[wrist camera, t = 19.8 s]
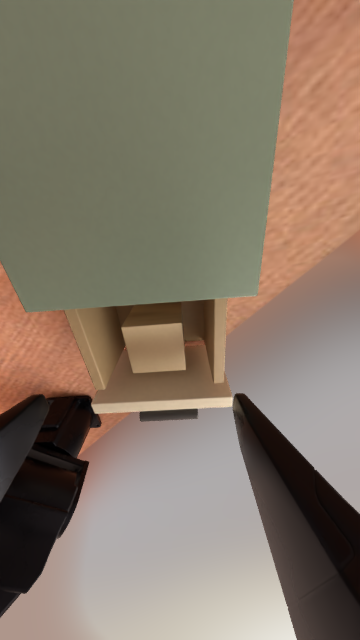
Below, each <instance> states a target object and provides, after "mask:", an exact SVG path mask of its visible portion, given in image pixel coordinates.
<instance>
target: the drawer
mask: <svg viewBox="0 0 360 640" xmlns="http://www.w3.org/2000/svg"><path fill="white" fill-rule="evenodd" d="M181 303H182V315H183V326H184V338H185V341H200V340H204V342H205V345H196V346H185V359H186V370H177V371H162V372H146V373H133V371H132V367H131V363H130V359H129V355H128V352H127V350H124V348H125V345H126V344H125V340H124V336H123V333H122V329H121V327H122V325H123V323H124V322H125V320H126V318H127V317H128V315H129V313H130V312H131V310H132V308H133V307H134V305H124V306H110V307H96V308H82V309H68V310H64V312H65V314H66V317H67V319H68V322H69V324H70V327H71V329H72V332H73V335H74V337H75V340H76V342H77V345H78V347H79V350H80V352H81V355H82V357H83V360H84V362H85V365H86V367H87V370H88V372H89V375H90V377H91V380H92V382H93V385H94V387H95V389H96V390H98V391H97V393H96V395H95V397H94V399H93V401H92V403H91V406H92V408H93V411H94V413H95V414H99V413H119V412H138V411H140V421H163V420H183V419H198V409H197V408H216V407H231V406H232V398H233V396H232V393H231V390H230V387H229V384H228V381H227V377H226V374H225V371H224V364H225V342H226V341H225V340H226V320H227V298H221V299H207V300H193V301H181Z"/></svg>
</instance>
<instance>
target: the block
mask: <svg viewBox="0 0 360 640" xmlns="http://www.w3.org/2000/svg"><path fill="white" fill-rule="evenodd" d="M121 329H122V333H123V336H124V340H125V344H126V348H127V352H128V355H129V359H130V363H131V367H132V371H133V373H146V372H162V371H177V370H186V359H185V338H184V326H183V315H182V303H181V301H179V302H165V303H151V304H138V305H134V307H133V308H132V310H131V312H130V313H129V315H128V317H127V318H126V320H125V322H124V323H123V325H122V327H121Z"/></svg>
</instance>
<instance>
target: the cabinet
mask: <svg viewBox="0 0 360 640" xmlns="http://www.w3.org/2000/svg"><path fill="white" fill-rule="evenodd" d="M293 1H294V0H0V261H1V263H2V265H3V267H4V269H5V271H6V273H7V275H8V277H9V279H10V281H11V283H12V285H13V287H14V289H15V291H16V293H17V295H18V297H19V299H20V301H21V303H22V305H23V307H24V309H25V311H26V312H40V311H54V310H68V309H82V308H96V307H110V306H124V305H138V304H151V303H165V302H179V301H193V300H207V299H221V298H235V297H249V296H257V295H258V287H259V279H260V271H261V263H262V254H263V246H264V238H265V230H266V222H267V214H268V205H269V197H270V189H271V181H272V173H273V164H274V156H275V148H276V140H277V132H278V124H279V115H280V107H281V99H282V91H283V83H284V75H285V66H286V58H287V50H288V42H289V34H290V25H291V17H292V9H293Z"/></svg>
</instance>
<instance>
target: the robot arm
mask: <svg viewBox="0 0 360 640" xmlns="http://www.w3.org/2000/svg"><path fill="white" fill-rule="evenodd" d="M91 403H92V399H91V397H89V396H74V397H56V398H47V399H46V398H45V396H44V395H43V394H34V395H31V396H30V397H28V398H26V399H25V400H23V401H22V402H20V403H19V404H17V405H15V406H14V407H12V408H11V409H9V410H7V411H6V412H4V413H3V414H1V415H0V617H1V616H2V615H3V614H4V613H5V611H6V610H7V609H8V608H9V607H10V606H11V605H12V603H13V602H14V601H15V600H16V599H17V598H18V596H19V595H20V594H21V593H23V594H25V593H27V592H28V591H29V589H30V588H31V587H32V585H33V584H34V583H35V582H36V580H37V579H38V577H39V576H40V575H41V573H42V571H43V569H44V566H45V564H46V561H47V559H48V556H49V554H50V551H51V549H52V547H53V545H54V543H55V540H56V539H58V538H60V537H61V535H62V534H63V532H64V530H65V529H66V527H67V526H68V524H69V522H70V520H71V518H72V515H73V513H74V511H75V508H76V506H77V503H78V500H79V496H80V493H81V489H82V486H83V482H84V479H85V475H86V472H87V468H88V465H89V462H88V461H82V460H80V459H77V456H78V454H79V452H80V450H81V447H82V445H83V443H84V441H85V438H86V436H87V434H88V432H89V430H90V428H97V427H100V426H101V424H102V423H101V420H100V418H99V416H98V414H95V413H94V411H93V408H92V406H91ZM233 413H234V419H235V424H236V429H237V434H238V439H239V444H240V448H241V452H242V455H243V459H244V462H245V465H246V469H247V472H248V475H249V479H250V482H251V485H252V489H253V492H254V496H255V499H256V503H257V506H258V509H259V513H260V516H261V519H262V523H263V526H264V530H265V533H266V536H267V540H268V543H269V546H270V549H271V553H272V556H273V560H274V563H275V567H276V570H277V573H278V577H279V580H280V583H281V586H282V590H283V593H284V597H285V600H286V604H287V606H288V611H289V614H290V618H291V621H292V624H293V628H294V631H295V634H296V638H297V640H360V514H359V513H358V512H357V511H356V510H355V509H354V508H353V507H352V506H351V505H350V504H349V503H348V502H347V501H346V500H345V499H344V498H343V497H342V496H341V495H340V494H339V493H338V492H337V491H336V490H335V489H334V488H333V487H332V486H331V485H330V484H329V483H328V482H327V481H326V480H325V479H324V478H323V477H322V475H321V474H320V473H319V472H318V471H317V470H315V469H314V467H313V466H312V465H311V464H310V463H309V462H308V461H307V460H306V459H305V458H304V457H303V456H302V454H301V453H299V451H298V450H297V449H296V448H295V447H294V446H293V445H292V444H291V443H290V442H289V441H288V440H287V438H286V437H285V436H284V435H283V434H282V433H281V432H280V431H279V430H278V429H277V428H276V427H275V426H274V425H273V424H272V423H271V422H270V420H269V419H268V418H267V417H266V416H265V415H264V414H263V413H262V412H261V411H260V410H259V409H258V408H257V407H256V406H255V405H254V403H252V401H251V400H250V399H249V398H248V397H247V396H246V395H245V394H243V393H237V394H235V396H234V401H233Z"/></svg>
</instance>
